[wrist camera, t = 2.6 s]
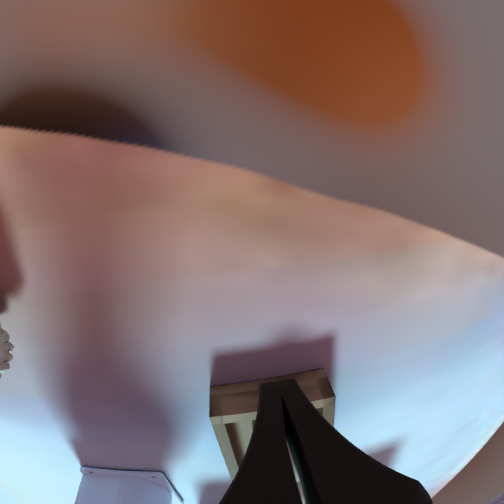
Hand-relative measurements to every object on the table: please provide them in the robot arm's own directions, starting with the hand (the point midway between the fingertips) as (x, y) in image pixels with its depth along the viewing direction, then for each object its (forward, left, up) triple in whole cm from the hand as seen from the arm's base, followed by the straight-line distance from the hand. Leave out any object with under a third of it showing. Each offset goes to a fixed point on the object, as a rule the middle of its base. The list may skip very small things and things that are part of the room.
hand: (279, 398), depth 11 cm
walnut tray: (0, -12, -8) cm, 15 cm away
